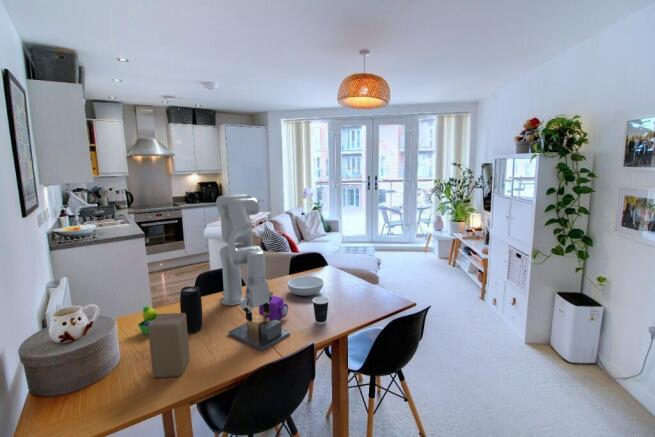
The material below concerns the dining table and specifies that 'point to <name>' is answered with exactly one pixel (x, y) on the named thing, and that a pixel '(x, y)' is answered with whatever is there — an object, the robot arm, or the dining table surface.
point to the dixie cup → (320, 309)
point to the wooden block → (169, 344)
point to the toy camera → (275, 309)
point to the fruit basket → (147, 319)
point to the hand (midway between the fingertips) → (258, 316)
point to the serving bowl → (305, 285)
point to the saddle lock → (256, 324)
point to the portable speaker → (191, 307)
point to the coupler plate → (253, 338)
